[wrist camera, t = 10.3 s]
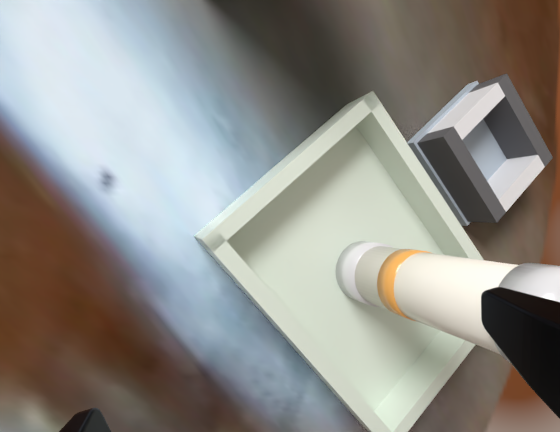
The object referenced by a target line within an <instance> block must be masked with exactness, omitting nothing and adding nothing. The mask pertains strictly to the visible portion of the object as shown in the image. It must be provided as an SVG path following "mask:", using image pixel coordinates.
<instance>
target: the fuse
mask: <svg viewBox="0 0 560 432" xmlns="http://www.w3.org/2000/svg"><path fill="white" fill-rule="evenodd" d="M336 280H337V283H338V285H339V287H340V289H341V290H342V292H343V293H344V294H345V295H347V296H348V297H350V298H352V299H355V300H357V301H360V302H362V303H365V304H367V305H370V306H374V307H382V308H385V309H387V310H389V311H391V312H392V313H395V314H397V315H400V316H402V317H405V318H407V319H410V320H413V321H418V322H420V323H423V324H425V325H428V326H430V327H433V328H435V329H438V330H440V331H443V332H445V333H448V334H451V335H453V336H456V337H458V338H461V339H463V340H466V341H468V342H471V343H473V344H476V345H478V346H481V347H483V348H486V349H488V350H491V351H494V352H496V353H499V354H501V355H502V356H503V357H504V358H505V359H506V360H507V361H508V362H510V361H509V360H508V358H507V357H506V356H505V354H504V353H503V352H502V350H501V349H500V348H499V347H498V345H497V344H496V343H495V341H494V340H493V339H492V338H491V336H490V335H489V334H488V332H487V331H486V330H485V328H484V326H483V324H482V320H481V295H482V292H484V291H485V290H488V289H492V288H495V287H503V288H507V289H511V290H515V291H519V292H522V293H526V294H530V295H534V296H538V297H542V298H545V299H549V300H553V301H557V302H560V266H554V265H546V264H538V263H524V264H521V265H513V264H506V263H499V262H492V261H485V260H478V259H471V258H463V257H456V256H449V255H442V254H435V253H431V252H427V251H421V250H414V249H399V248H393V247H392V246H390V245H387V244H383V243H375V242H367V241H358V242H354V243H352V244H350V245H349V246H347V247H346V248H345V249H344V250H343V252H342V253H341V254H340V256H339V258H338V261H337V264H336ZM510 363H511V362H510Z"/></svg>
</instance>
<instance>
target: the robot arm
mask: <svg viewBox="0 0 560 432" xmlns="http://www.w3.org/2000/svg"><path fill="white" fill-rule="evenodd" d="M481 320H482V324H483V326H484V328H485V330H486V331H487V332H488V334H489V335H490V336H491V338H492V339H493V340H494V341H495V343H496V344H497V345H498V347H499V348H500V349H501V350H502V352H503V353H504V354H505V356H506V357H507V358H508V360H509V361H510V362H511V363H512V365H513V366H514V367H515V369H516V370H517V371H518V372H519V374H520V375H521V376H522V377H523V379H524V380H525V381H526V382H527V384H528V385H529V386H530V387H531V388H532V389H533V390H534V391H535V393H536V394H537V395H538V396H539V397H540V398H541V399H542V400H543V401H544V402H545V403H546V404H547V405H548V406H549V408H550V409H551V410H552V411H553V412H554V413H555V414H556V415H557V416H558V417H559V418H560V302H557V301H553V300H549V299H545V298H542V297H538V296H534V295H530V294H526V293H522V292H519V291H515V290H511V289H507V288H503V287H495V288H492V289H488V290H485V291H484V292H482V295H481ZM59 432H111V431H110V429H109V427H108V425H107V423H106V421H105V419H104V417H103V415H102V413H101V412H100V410H99V409H97V408H92V409H88V410H85V411H82V412H79V413H77V414H75V415H74V416H73V417H72V418H71V419H70V421H69V422H68V423H67V424H66V425H65V426H64V427H63V428H62V429H61V430H60V431H59Z"/></svg>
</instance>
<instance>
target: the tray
mask: <svg viewBox="0 0 560 432" xmlns="http://www.w3.org/2000/svg"><path fill="white" fill-rule="evenodd" d="M194 237H195V238H196V239H197V240H198V241H199V242H200V243H201V245H202V246H203V247H204V248H205V249H206V250H207V251H208V252H209V254H210V255H211V256H212V257H213V258H214V259H215V260H216V261H217V263H218V264H219V265H220V266H221V267H222V268H223V269H224V270H225V272H226V273H227V274H228V275H229V276H230V277H231V278H232V279H233V281H234V282H235V283H236V284H237V285H238V286H239V287H240V288H241V290H242V291H243V292H244V293H245V294H246V295H247V296H248V297H249V299H250V300H251V301H252V302H253V303H254V304H255V305H256V306H257V308H258V309H259V310H260V311H261V312H262V313H263V314H264V315H265V317H266V318H267V319H268V320H269V321H270V322H271V323H272V324H273V326H274V327H275V328H276V329H277V330H278V331H279V332H280V333H281V335H282V336H283V337H284V338H285V339H286V340H287V341H288V342H289V344H290V345H291V346H292V347H293V348H294V349H295V350H296V351H297V353H298V354H299V355H300V356H301V357H302V358H303V359H304V360H305V362H306V363H307V364H308V365H309V366H310V367H311V368H312V369H313V371H314V372H315V373H316V374H317V375H318V376H319V377H320V378H321V380H322V381H323V382H324V383H325V384H326V385H327V386H328V387H329V389H330V390H331V391H332V392H333V393H334V394H335V395H336V396H337V398H338V399H339V400H340V401H341V402H342V403H343V404H344V405H345V407H346V408H347V409H348V410H349V411H350V412H351V413H352V414H353V416H354V417H355V418H356V419H357V420H358V421H359V422H360V423H361V425H362V426H363V427H364V428H365V429H366V430H367V431H368V432H408V431H409V430H410V428H411V427H412V426H413V424H414V423H415V422H416V421H417V419H418V418H419V417H420V415H421V414H422V413H423V412H424V410H425V409H426V408H427V406H428V405H429V404H430V403H431V401H432V400H433V399H434V397H435V396H436V395H437V394H438V392H439V391H440V390H441V388H442V387H443V386H444V385H445V383H446V382H447V381H448V379H449V378H450V377H451V376H452V374H453V373H454V372H455V370H456V369H457V368H458V367H459V365H460V364H461V363H462V361H463V360H464V359H465V357H466V356H467V355H468V354H469V352H470V351H471V350H472V348H473V347H474V346H475V345H476V344H473V343H471V342H468V341H466V340H463V339H461V338H458V337H456V336H453V335H451V334H448V333H445V332H443V331H440V330H438V329H435V328H433V327H430V326H428V325H425V324H423V323H420V322H418V321H413V320H410V319H407V318H405V317H402V316H400V315H397V314H395V313H392V312H391V311H389V310H387V309H385V308H382V307H374V306H370V305H367V304H365V303H362V302H360V301H357V300H355V299H352V298H350V297H348V296H347V295H345V294H344V293H343V292H342V290H341V289H340V287H339V285H338V283H337V280H336V264H337V261H338V258H339V256H340V254H341V253H342V252H343V250H344V249H345V248H346V247H347V246H349V245H350V244H352V243H354V242H358V241H367V242H375V243H383V244H387V245H390V246H392V247H393V248H399V249H414V250H421V251H427V252H431V253H435V254H442V255H449V256H456V257H463V258H471V259H478V260H483V258H482V257H481V255H480V253H479V252H478V250H477V249H476V247H475V246H474V244H473V243H472V241H471V240H470V238H469V237H468V235H467V234H466V232H465V231H464V229H463V228H462V226H461V224H460V223H459V221H458V220H457V218H456V217H455V215H454V214H453V212H452V211H451V209H450V208H449V206H448V205H447V203H446V202H445V200H444V199H443V197H442V195H441V194H440V192H439V191H438V189H437V188H436V186H435V185H434V183H433V182H432V180H431V179H430V177H429V176H428V174H427V173H426V171H425V169H424V168H423V166H422V165H421V163H420V162H419V160H418V159H417V157H416V156H415V154H414V153H413V151H412V150H411V148H410V147H409V145H408V144H407V142H406V140H405V139H404V137H403V136H402V134H401V133H400V131H399V130H398V128H397V127H396V125H395V124H394V122H393V121H392V119H391V118H390V116H389V115H388V113H387V111H386V110H385V108H384V107H383V105H382V104H381V102H380V101H379V99H378V98H377V96H376V95H375V93H374V92H373V91H371V92H370V93H368V94H366V95H364V96H362V97H360V98H358V99H356V100H354V101H352V102H350V103H349V104H347V105H345V106H344V107H343V108H342V109H341V110H339V111H338V112H337V113H336V114H335V115H334V116H332V117H331V118H330V119H329V120H328V121H327V122H326V123H324V124H323V125H322V126H321V127H320V128H319V129H317V130H316V131H315V132H314V133H313V134H312V135H310V136H309V137H308V138H307V139H306V140H305V141H303V142H302V143H301V144H300V145H299V146H298V147H296V148H295V149H294V150H293V151H292V152H291V153H289V154H288V155H287V156H286V157H285V158H284V159H283V160H281V161H280V162H279V163H278V164H277V165H276V166H274V167H273V168H272V169H271V170H270V171H269V172H267V173H266V174H265V175H264V176H263V177H262V178H260V179H259V180H258V181H257V182H256V183H255V184H253V185H252V186H251V187H250V188H249V189H248V190H247V191H245V192H244V193H243V194H242V195H241V196H240V197H238V198H237V199H236V200H235V201H234V202H233V203H231V204H230V205H229V206H228V207H227V208H226V209H224V210H223V211H222V212H221V213H220V214H219V215H217V216H216V217H215V218H214V219H213V220H212V221H210V222H209V223H208V224H207V225H206V226H205V227H204V228H202V229H201V230H200V231H199V232H198V233H197V234H195V235H194Z"/></svg>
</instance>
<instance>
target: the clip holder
mask: <svg viewBox="0 0 560 432" xmlns="http://www.w3.org/2000/svg"><path fill="white" fill-rule="evenodd" d="M407 144H408V145H409V147H410V148H411V150H412V151H413V153H414V154H415V156H416V157H417V159H418V160H419V162H420V163H421V165H422V166H423V168H424V169H425V171H426V173H427V174H428V176H429V177H430V179H431V180H432V182H433V183H434V185H435V186H436V188H437V189H438V191H439V192H440V194H441V195H442V197H443V199H444V200H445V202H446V203H447V205H448V206H449V208H450V209H451V211H452V212H453V214H454V215H455V217H456V218H457V220H458V221H459V223H460V224H461V226H468V225H469V224H470V223H471V222H494V223H497V222H498V221H499V220H500V219H501V217H502V216H503V215H504V214H505V213H506V212H507V210H508V209H509V208H510V207H511V206H512V205H513V203H514V202H515V201H516V200H517V199H518V198H519V196H520V195H521V194H522V193H523V192H524V191H525V189H526V188H527V187H528V186H529V185H530V183H531V182H532V181H533V180H534V179H535V178H536V176H537V175H538V174H539V173H540V172H541V171H542V169H543V168H544V167H545V166H546V165H547V164H548V162H549V161H550V160H551V159H552V158H553V157H552V155H551V154H550V152H549V150H548V148H547V146H546V144H545V143H544V141H543V139H542V137H541V135H540V133H539V132H538V130H537V128H536V126H535V124H534V123H533V121H532V119H531V117H530V115H529V113H528V112H527V110H526V108H525V106H524V104H523V102H522V101H521V99H520V97H519V95H518V93H517V91H516V90H515V88H514V86H513V84H512V82H511V80H510V79H509V77H508V75H507V74H504V75H501V76H499V77H496V78H494V79H491V80H488V81H486V82H483V83H480V84H479V83H478V81H475V82H473V83H470V84H467V85H466V86H465V87H464V88H463V89H462V90H461V91H460V92H459V93H458V94H457V95H456V96H455V97H454V98H453V99H452V100H451V101H450V102H449V103H448V104H447V105H446V106H445V107H444V108H442V109H441V110H440V111H439V112H438V113H437V114H436V115H435V116H434V117H433V118H432V119H431V120H430V121H429V122H428V123H427V124H426V125H425V126H424V127H423V128H422V129H421V130H420V131H419V132H418V133H416V134H415V135H414V136H413V137H412V138H411V139H410V140H409V141H408V142H407Z"/></svg>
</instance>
